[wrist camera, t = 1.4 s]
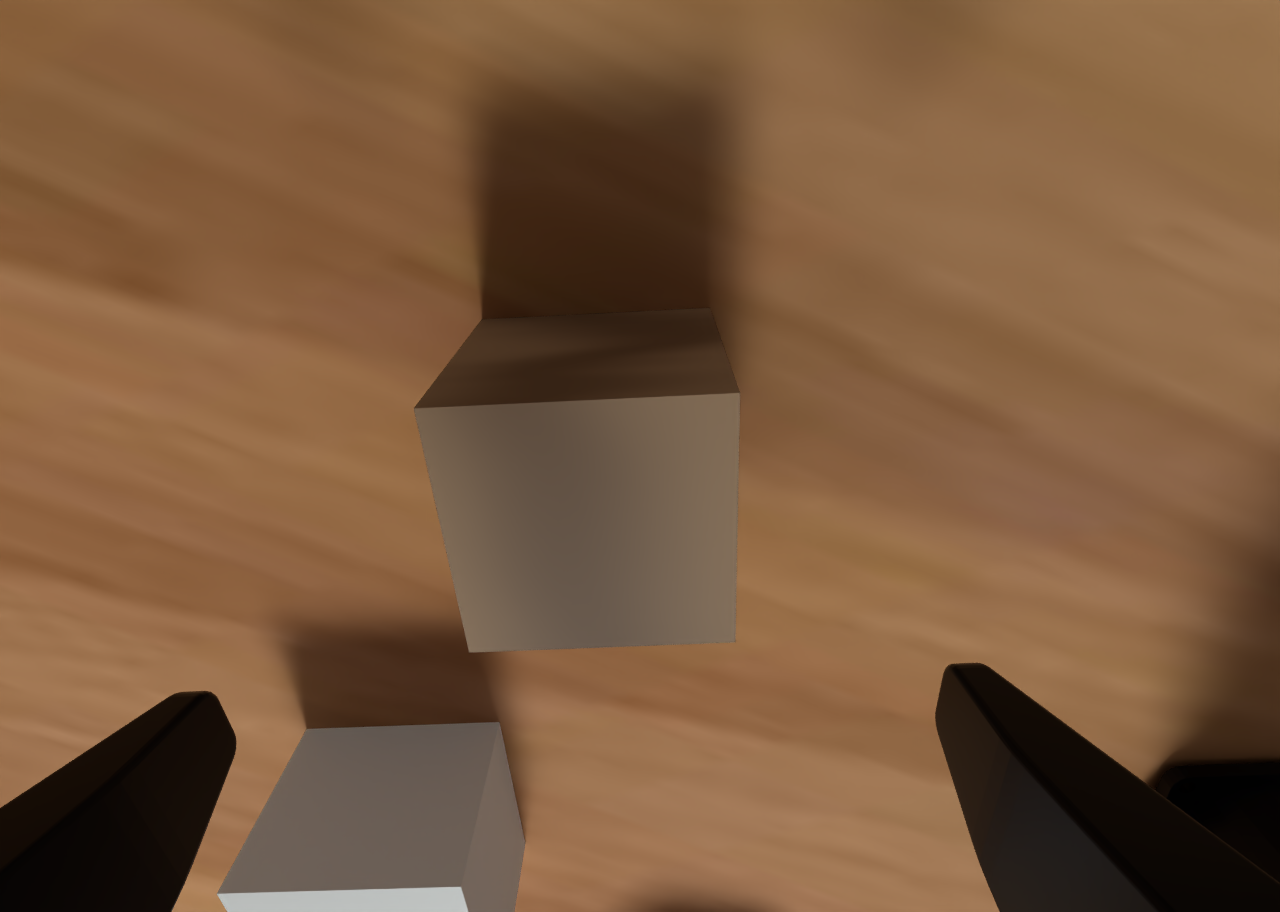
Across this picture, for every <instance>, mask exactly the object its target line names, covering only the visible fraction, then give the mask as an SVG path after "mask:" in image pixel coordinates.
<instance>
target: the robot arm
mask: <svg viewBox="0 0 1280 912" xmlns="http://www.w3.org/2000/svg"><path fill="white" fill-rule="evenodd" d="M935 719H936V727H937V732H938V735H939V738H940V741H941V745H942V748H943V751H944V754H945V757H946V761H947V764H948V767H949V770H950V773H951V776H952V780H953V783H954V786H955V789H956V792H957V795H958V799H959V802H960V805H961V808H962V811H963V814H964V818H965V821H966V824H967V827H968V830H969V834H970V837H971V840H972V843H973V846H974V849H975V852H976V855H977V858H978V860H979V863H980V866H981V868H982V871H983V873H984V876H985V878H986V881H987V883H988V886H989V888H990V890H991V893H992V895H993V897H994V900H995V902H996V904H997V907H998V909H999V911H1000V912H1280V763H1254V764H1224V765H1194V766H1179V767H1175V768H1172V769H1170V770H1169V771H1167V772H1166V773H1165V774H1164V775H1163V776H1162V778H1161V780H1160V782H1159V785H1158V787H1157V789H1156V791H1155V790H1154V789H1153V788H1151V787H1150V786H1149V785H1147V784H1146V783H1145V782H1143V781H1142V780H1141V779H1139V778H1138V777H1136V776H1135V775H1134V774H1132V773H1131V772H1130V771H1128V770H1127V769H1126V768H1124V767H1123V766H1122V765H1120V764H1119V763H1118V762H1116V761H1115V760H1114V759H1112V758H1111V757H1110V756H1108V755H1107V754H1105V753H1104V752H1103V751H1101V750H1100V749H1099V748H1097V747H1096V746H1095V745H1093V744H1092V743H1091V742H1089V741H1088V740H1087V739H1085V738H1084V737H1083V736H1081V735H1080V734H1079V733H1077V732H1076V731H1075V730H1073V729H1072V728H1070V727H1069V726H1068V725H1066V724H1065V723H1064V722H1062V721H1061V720H1060V719H1058V718H1057V717H1056V716H1054V715H1053V714H1052V713H1050V712H1049V711H1048V710H1046V709H1045V708H1044V707H1042V706H1041V705H1039V704H1038V703H1037V702H1035V701H1034V700H1033V699H1031V698H1030V697H1029V696H1027V695H1026V694H1025V693H1023V692H1022V691H1021V690H1019V689H1018V688H1017V687H1015V686H1014V685H1013V684H1011V683H1010V682H1009V681H1007V680H1006V679H1004V678H1003V677H1002V676H1000V675H999V674H998V673H996V672H995V671H994V670H992V669H991V668H990V667H988V666H986V665H984V664H981V663H960V664H950V665H948V666H947V667H946V669H945V671H944V674H943V678H942V683H941V688H940V693H939V697H938V702H937V707H936V713H935ZM235 751H236V736H235V733H234V731H233V729H232V727H231V725H230V722H229V720H228V718H227V716H226V714H225V712H224V710H223V708H222V706H221V704H220V702H219V700H218V698H217V696H216V695H214V694H213V693H212V692H208V691H194V692H180V693H176V694H173V695H171V696H170V697H168V698H166V699H165V700H163V701H162V702H160V703H159V704H157V705H156V706H154V707H153V708H151V709H150V710H148V711H147V712H145V713H144V714H142V715H141V716H139V717H138V718H136V719H135V720H133V721H132V722H130V723H128V724H127V725H125V726H124V727H122V728H121V729H119V730H118V731H116V732H115V733H113V734H112V735H110V736H109V737H107V738H106V739H104V740H103V741H101V742H100V743H98V744H97V745H95V746H94V747H92V748H91V749H89V750H88V751H86V752H84V753H83V754H81V755H80V756H78V757H77V758H75V759H74V760H72V761H71V762H69V763H68V764H66V765H65V766H63V767H62V768H60V769H59V770H57V771H56V772H54V773H53V774H51V775H50V776H48V777H47V778H45V779H44V780H42V781H41V782H39V783H37V784H36V785H34V786H33V787H31V788H30V789H28V790H27V791H25V792H24V793H22V794H21V795H19V796H18V797H16V798H15V799H13V800H12V801H10V802H9V803H7V804H6V805H4V806H3V807H1V808H0V912H171V911H172V909H173V907H174V905H175V903H176V901H177V899H178V897H179V895H180V892H181V890H182V888H183V886H184V884H185V881H186V879H187V876H188V874H189V872H190V869H191V867H192V865H193V862H194V860H195V857H196V854H197V852H198V849H199V847H200V844H201V842H202V839H203V836H204V834H205V831H206V829H207V826H208V823H209V821H210V818H211V816H212V813H213V810H214V808H215V805H216V803H217V800H218V798H219V795H220V792H221V790H222V787H223V785H224V782H225V779H226V777H227V774H228V772H229V769H230V766H231V764H232V761H233V759H234V755H235Z"/></svg>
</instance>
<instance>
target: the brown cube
mask: <svg viewBox="0 0 1280 912" xmlns="http://www.w3.org/2000/svg"><path fill="white" fill-rule="evenodd" d="M414 412H415V416H416V420H417V425H418V429H419V434H420V438H421V443H422V447H423V451H424V456H425V460H426V465H427V469H428V473H429V478H430V482H431V487H432V491H433V495H434V500H435V504H436V509H437V513H438V517H439V522H440V526H441V531H442V535H443V539H444V544H445V548H446V553H447V557H448V561H449V566H450V570H451V575H452V579H453V583H454V588H455V592H456V597H457V601H458V605H459V610H460V614H461V619H462V623H463V627H464V632H465V636H466V641H467V645H468V649H469V653H470V652H496V651H522V650H548V649H574V648H600V647H626V646H652V645H678V644H704V643H730V642H735V630H736V578H737V525H738V473H739V421H740V391H739V389H738V386H737V383H736V380H735V377H734V374H733V372H732V369H731V366H730V363H729V360H728V357H727V355H726V352H725V349H724V346H723V343H722V340H721V338H720V335H719V332H718V329H717V326H716V324H715V321H714V318H713V315H712V312H711V309H710V308H695V309H675V310H655V311H635V312H616V313H596V314H576V315H556V316H537V317H517V318H497V319H482V320H481V321H480V322H479V324H478V325H477V326H476V328H475V329H474V330H473V332H472V333H471V334H470V336H469V337H468V338H467V339H466V341H465V342H464V343H463V345H462V346H461V347H460V349H459V350H458V351H457V353H456V354H455V355H454V357H453V358H452V359H451V360H450V362H449V363H448V364H447V366H446V367H445V368H444V370H443V371H442V372H441V374H440V375H439V376H438V377H437V379H436V380H435V381H434V383H433V384H432V385H431V387H430V388H429V389H428V391H427V392H426V393H425V394H424V396H423V397H422V398H421V400H420V401H419V402H418V404H417V405H416V406H415V408H414Z"/></svg>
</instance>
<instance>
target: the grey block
mask: <svg viewBox="0 0 1280 912" xmlns="http://www.w3.org/2000/svg"><path fill="white" fill-rule="evenodd" d="M524 849H525V839H524V834H523V830H522V825H521V820H520V816H519V811H518V806H517V802H516V797H515V792H514V788H513V783H512V778H511V774H510V769H509V764H508V760H507V755H506V750H505V745H504V741H503V736H502V731H501V727H500V722H486V723H458V724H431V725H403V726H375V727H347V728H319V729H306V731H305V733H304V735H303V737H302V739H301V740H300V742H299V744H298V746H297V748H296V750H295V751H294V753H293V755H292V757H291V759H290V761H289V762H288V764H287V766H286V768H285V770H284V772H283V773H282V775H281V777H280V779H279V781H278V783H277V784H276V786H275V788H274V790H273V792H272V794H271V795H270V797H269V799H268V801H267V803H266V805H265V806H264V808H263V810H262V812H261V814H260V816H259V817H258V819H257V821H256V823H255V825H254V827H253V828H252V830H251V832H250V834H249V836H248V838H247V839H246V841H245V843H244V845H243V847H242V849H241V850H240V852H239V854H238V856H237V858H236V860H235V861H234V863H233V865H232V867H231V869H230V871H229V872H228V874H227V876H226V878H225V880H224V882H223V884H222V885H221V887H220V889H219V891H218V893H217V895H218V896H219V898H220V900H221V902H222V903H223V905H224V907H225V908H226V910H227V912H514V911H515V905H516V899H517V892H518V886H519V880H520V874H521V867H522V861H523V855H524Z"/></svg>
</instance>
